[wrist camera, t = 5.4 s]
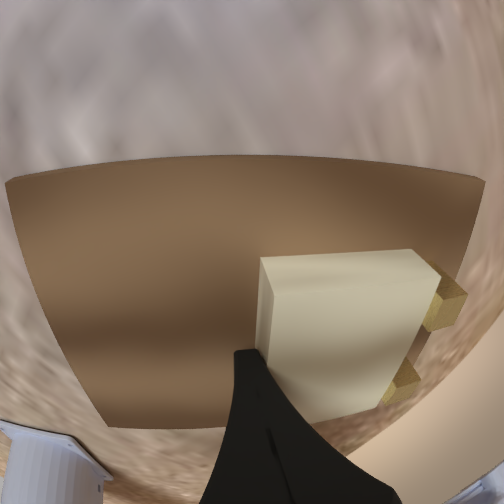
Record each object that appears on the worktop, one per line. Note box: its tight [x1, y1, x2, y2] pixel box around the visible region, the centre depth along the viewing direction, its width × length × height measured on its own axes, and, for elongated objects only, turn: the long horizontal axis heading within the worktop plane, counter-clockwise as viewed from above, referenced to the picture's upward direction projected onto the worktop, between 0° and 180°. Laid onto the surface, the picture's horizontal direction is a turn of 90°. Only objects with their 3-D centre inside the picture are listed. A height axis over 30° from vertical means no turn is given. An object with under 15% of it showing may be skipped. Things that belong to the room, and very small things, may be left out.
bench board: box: [5, 155, 486, 429], centre depth 12 cm, size 14×18×1 cm
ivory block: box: [255, 249, 441, 424], centre depth 11 cm, size 8×6×2 cm
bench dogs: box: [381, 261, 468, 406], centre depth 11 cm, size 6×2×2 cm, turn 178°
